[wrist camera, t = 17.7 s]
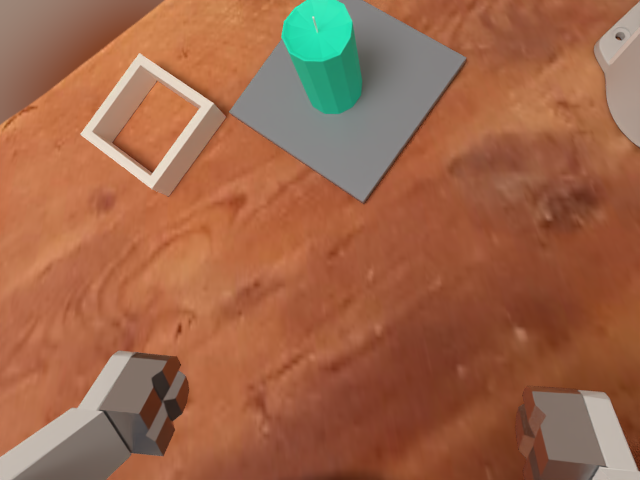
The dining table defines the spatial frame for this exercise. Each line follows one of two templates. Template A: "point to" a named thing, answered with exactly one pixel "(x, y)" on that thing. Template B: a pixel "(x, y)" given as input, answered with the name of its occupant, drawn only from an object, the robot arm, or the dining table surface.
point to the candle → (324, 54)
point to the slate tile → (367, 113)
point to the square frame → (124, 105)
